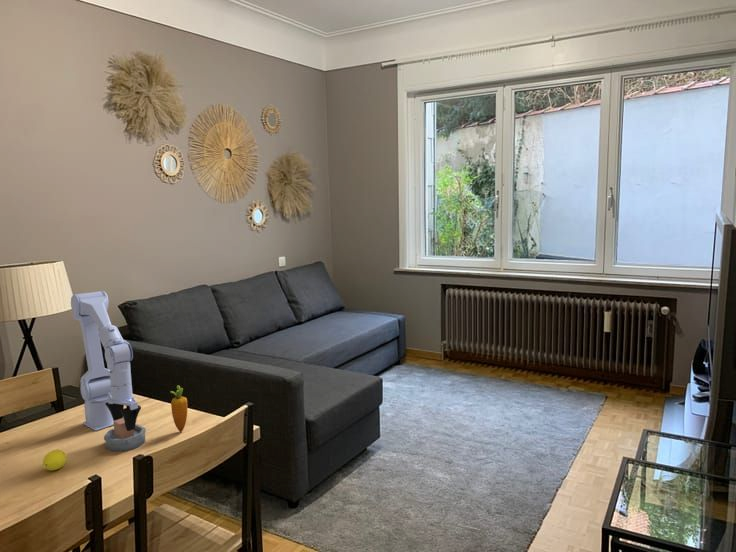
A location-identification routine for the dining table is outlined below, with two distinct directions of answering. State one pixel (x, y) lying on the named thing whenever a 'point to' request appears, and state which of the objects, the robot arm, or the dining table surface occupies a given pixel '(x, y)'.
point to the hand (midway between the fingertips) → (124, 426)
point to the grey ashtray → (125, 440)
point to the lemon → (54, 460)
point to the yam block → (122, 429)
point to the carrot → (179, 409)
